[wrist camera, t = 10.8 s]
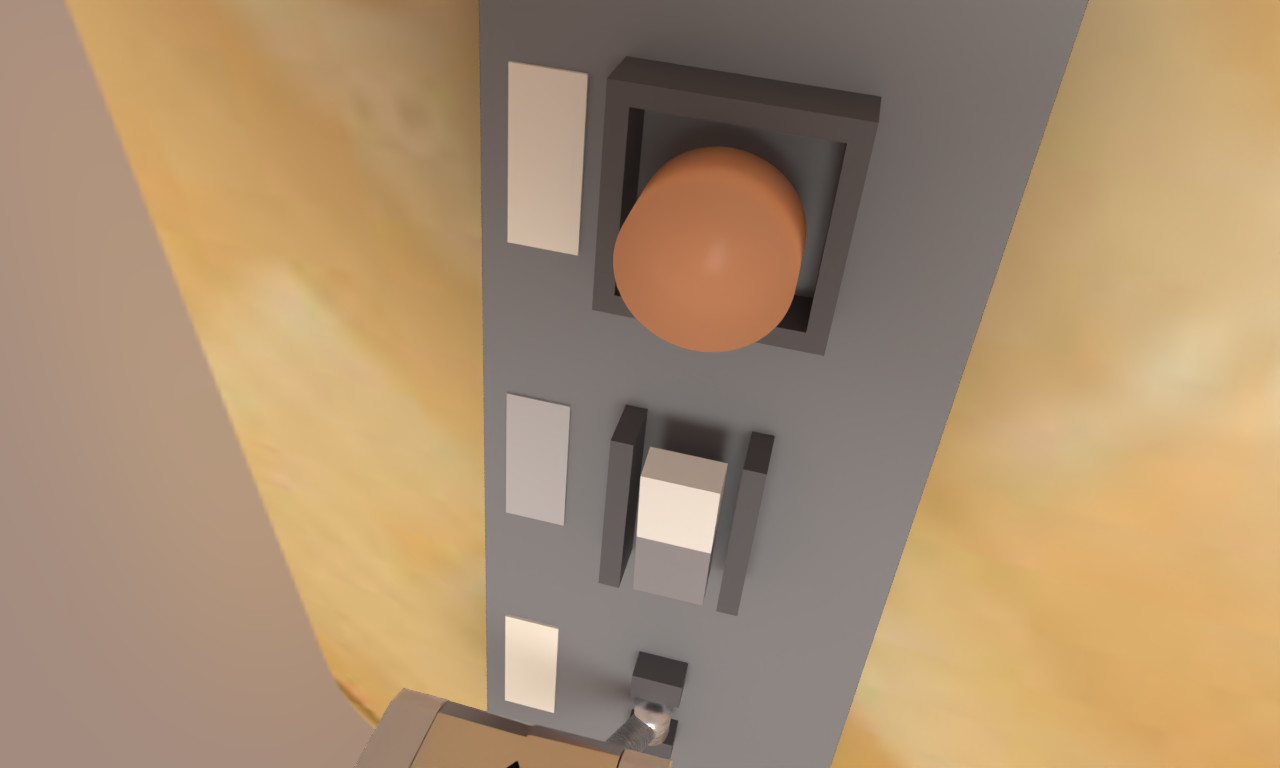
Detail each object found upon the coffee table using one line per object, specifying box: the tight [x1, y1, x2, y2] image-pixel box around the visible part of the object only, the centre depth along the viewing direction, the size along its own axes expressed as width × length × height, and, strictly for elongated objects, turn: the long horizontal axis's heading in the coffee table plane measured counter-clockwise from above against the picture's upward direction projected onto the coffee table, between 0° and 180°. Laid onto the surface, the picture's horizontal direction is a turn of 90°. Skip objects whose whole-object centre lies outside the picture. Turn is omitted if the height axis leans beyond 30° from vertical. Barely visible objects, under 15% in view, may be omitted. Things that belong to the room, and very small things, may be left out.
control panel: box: [479, 0, 1089, 768], centre depth 27 cm, size 30×12×4 cm, turn 175°
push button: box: [613, 146, 807, 352], centre depth 20 cm, size 4×4×2 cm
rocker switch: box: [633, 447, 728, 605], centre depth 26 cm, size 5×2×1 cm, turn 176°
